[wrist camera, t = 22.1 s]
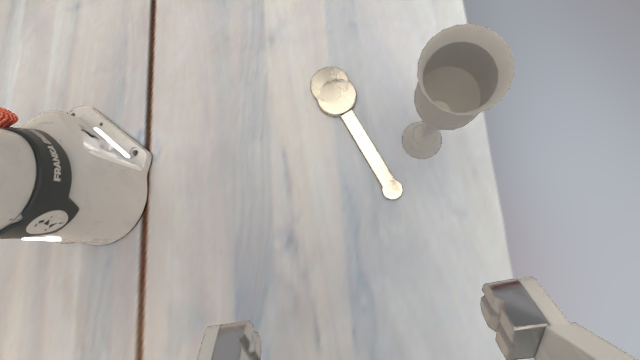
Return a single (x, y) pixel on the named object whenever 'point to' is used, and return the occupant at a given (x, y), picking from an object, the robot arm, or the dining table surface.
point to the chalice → (457, 83)
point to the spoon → (351, 122)
